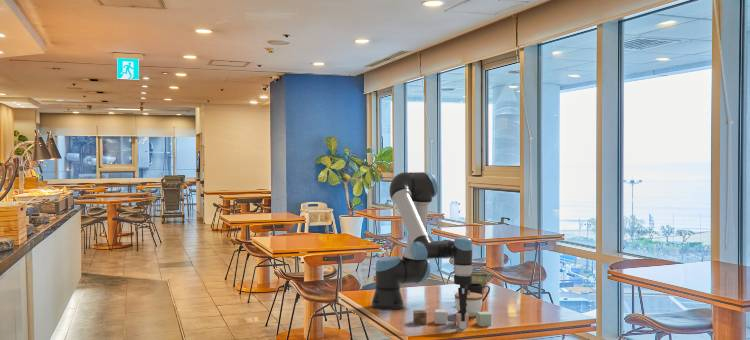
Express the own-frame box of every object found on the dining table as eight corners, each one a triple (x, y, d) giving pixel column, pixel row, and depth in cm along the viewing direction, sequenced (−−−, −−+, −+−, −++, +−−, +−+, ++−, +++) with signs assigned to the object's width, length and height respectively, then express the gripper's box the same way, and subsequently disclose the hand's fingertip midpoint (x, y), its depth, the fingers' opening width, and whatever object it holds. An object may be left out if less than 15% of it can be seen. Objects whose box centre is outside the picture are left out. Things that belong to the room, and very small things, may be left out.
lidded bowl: (460, 310, 297) (461, 287, 297) (486, 314, 291) (486, 289, 291) (450, 315, 286) (450, 291, 286) (476, 319, 280) (476, 294, 280)
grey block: (434, 323, 272) (434, 311, 272) (436, 320, 277) (436, 309, 277) (446, 324, 271) (446, 312, 271) (447, 321, 276) (447, 309, 276)
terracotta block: (456, 326, 267) (456, 314, 267) (456, 323, 272) (456, 312, 272) (468, 327, 266) (468, 315, 266) (468, 324, 271) (468, 312, 271)
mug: (491, 306, 308) (492, 286, 308) (467, 306, 307) (467, 286, 307) (487, 302, 316) (487, 283, 316) (463, 302, 315) (464, 283, 315)
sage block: (479, 326, 268) (479, 314, 268) (476, 323, 273) (476, 311, 273) (491, 326, 269) (491, 314, 269) (487, 323, 274) (487, 311, 274)
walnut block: (414, 324, 269) (414, 312, 269) (413, 321, 274) (413, 310, 274) (426, 324, 270) (426, 312, 270) (424, 321, 275) (425, 310, 275)
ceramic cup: (468, 291, 343) (468, 273, 343) (469, 288, 353) (469, 270, 353) (492, 293, 341) (492, 274, 341) (493, 289, 350) (493, 271, 350)
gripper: (472, 279, 256) (472, 332, 256) (471, 270, 281) (470, 318, 281) (454, 279, 257) (453, 331, 257) (454, 270, 282) (453, 318, 282)
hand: (462, 325), depth 269 cm, fingers open, 13 cm apart
